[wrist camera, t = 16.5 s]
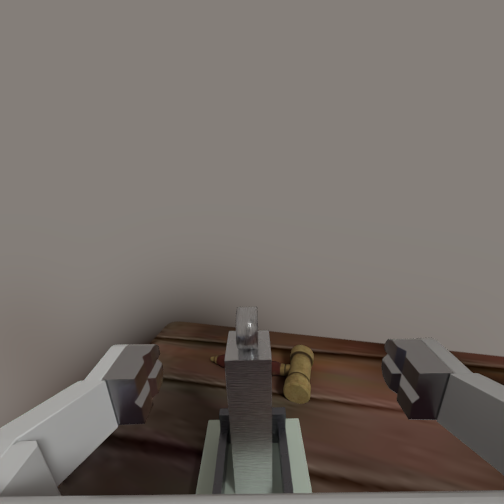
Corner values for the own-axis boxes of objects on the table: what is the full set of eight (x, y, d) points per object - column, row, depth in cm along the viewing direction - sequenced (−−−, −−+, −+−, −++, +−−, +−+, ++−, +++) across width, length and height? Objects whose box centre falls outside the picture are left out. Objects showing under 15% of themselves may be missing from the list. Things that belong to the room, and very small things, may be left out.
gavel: (197, 367, 47) (219, 334, 56) (201, 386, 48) (221, 351, 57) (309, 386, 40) (313, 345, 49) (310, 407, 42) (314, 364, 51)
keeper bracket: (321, 560, 25) (326, 520, 23) (186, 562, 25) (177, 522, 23) (298, 425, 38) (299, 391, 36) (209, 426, 39) (205, 393, 36)
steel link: (272, 494, 29) (271, 323, 21) (235, 494, 29) (221, 324, 22) (270, 453, 33) (268, 298, 26) (237, 454, 33) (226, 299, 26)
